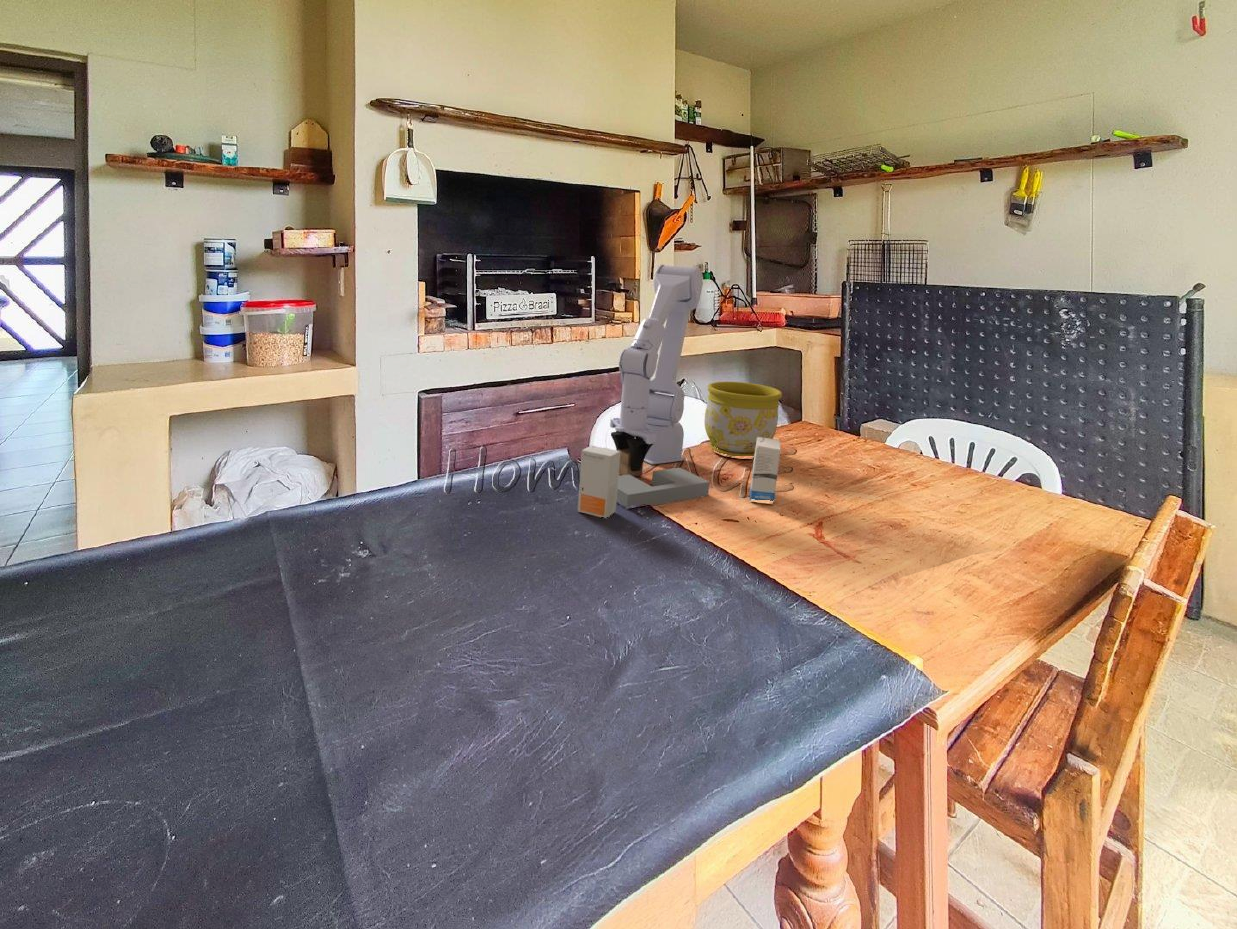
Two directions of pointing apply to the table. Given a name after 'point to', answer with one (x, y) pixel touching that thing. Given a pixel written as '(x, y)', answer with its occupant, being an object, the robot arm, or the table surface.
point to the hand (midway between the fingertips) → (629, 467)
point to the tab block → (627, 464)
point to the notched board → (661, 488)
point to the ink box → (765, 469)
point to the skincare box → (598, 481)
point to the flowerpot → (740, 416)
